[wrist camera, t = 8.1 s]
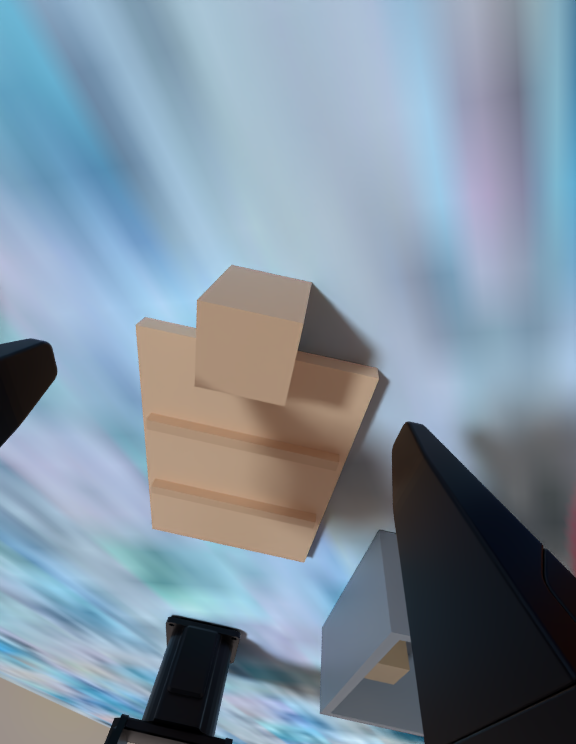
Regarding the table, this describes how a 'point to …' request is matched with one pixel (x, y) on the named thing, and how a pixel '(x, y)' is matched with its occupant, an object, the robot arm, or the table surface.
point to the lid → (246, 417)
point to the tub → (371, 647)
